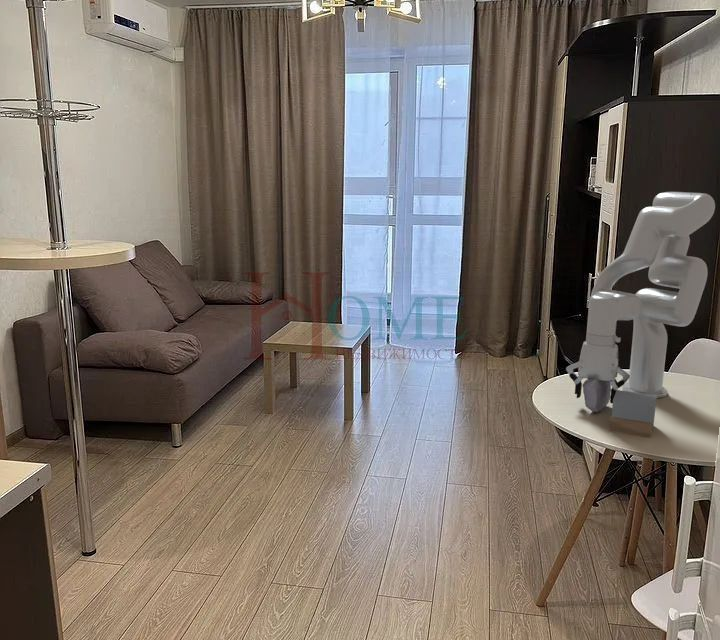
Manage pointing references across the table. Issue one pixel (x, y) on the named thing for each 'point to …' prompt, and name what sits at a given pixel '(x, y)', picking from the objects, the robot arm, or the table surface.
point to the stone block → (596, 394)
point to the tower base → (631, 426)
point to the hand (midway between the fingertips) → (595, 399)
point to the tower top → (634, 406)
